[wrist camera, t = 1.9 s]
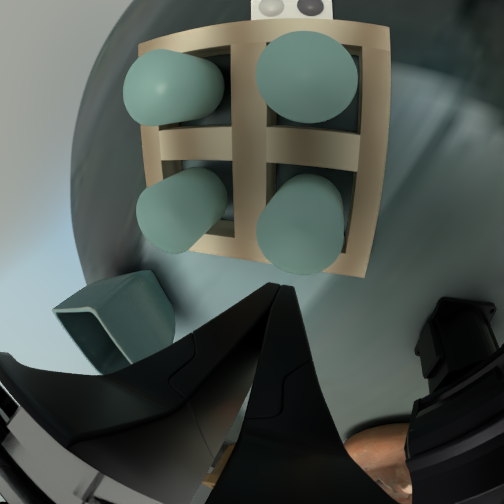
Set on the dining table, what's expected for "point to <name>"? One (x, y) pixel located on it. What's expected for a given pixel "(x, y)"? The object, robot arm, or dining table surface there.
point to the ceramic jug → (384, 458)
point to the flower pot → (118, 320)
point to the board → (280, 134)
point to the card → (291, 9)
